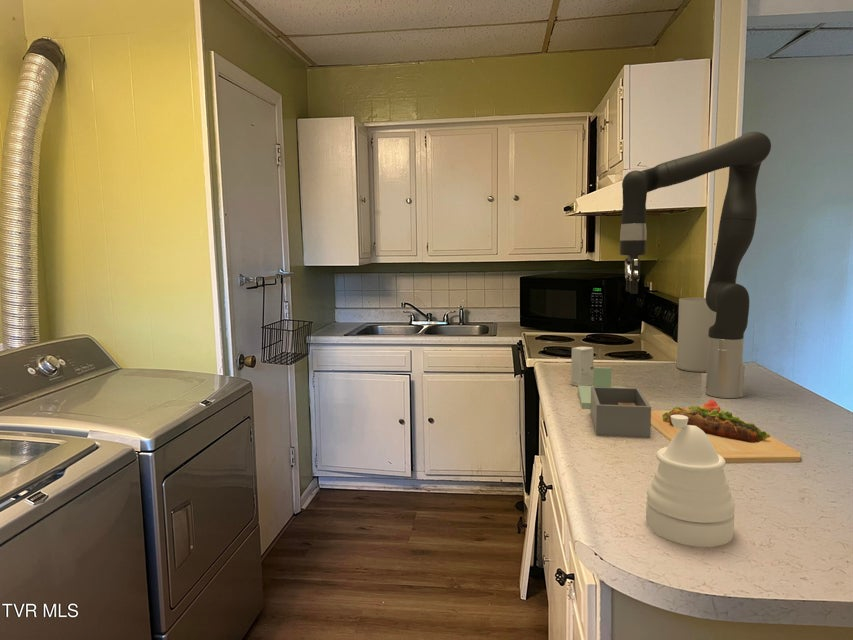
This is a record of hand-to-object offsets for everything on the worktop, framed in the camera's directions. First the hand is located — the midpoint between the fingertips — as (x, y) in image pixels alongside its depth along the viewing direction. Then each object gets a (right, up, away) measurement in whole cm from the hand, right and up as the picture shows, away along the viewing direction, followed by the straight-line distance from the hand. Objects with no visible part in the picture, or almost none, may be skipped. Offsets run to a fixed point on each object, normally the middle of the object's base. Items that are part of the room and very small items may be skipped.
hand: (631, 292), depth 179 cm
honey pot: (-21, -42, -85) cm, 97 cm away
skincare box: (-12, -30, +10) cm, 34 cm away
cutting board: (+4, -36, -41) cm, 55 cm away
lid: (-12, -32, -11) cm, 36 cm away
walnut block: (-12, -34, -31) cm, 48 cm away
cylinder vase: (+34, -26, +31) cm, 52 cm away
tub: (-15, -35, -34) cm, 51 cm away
